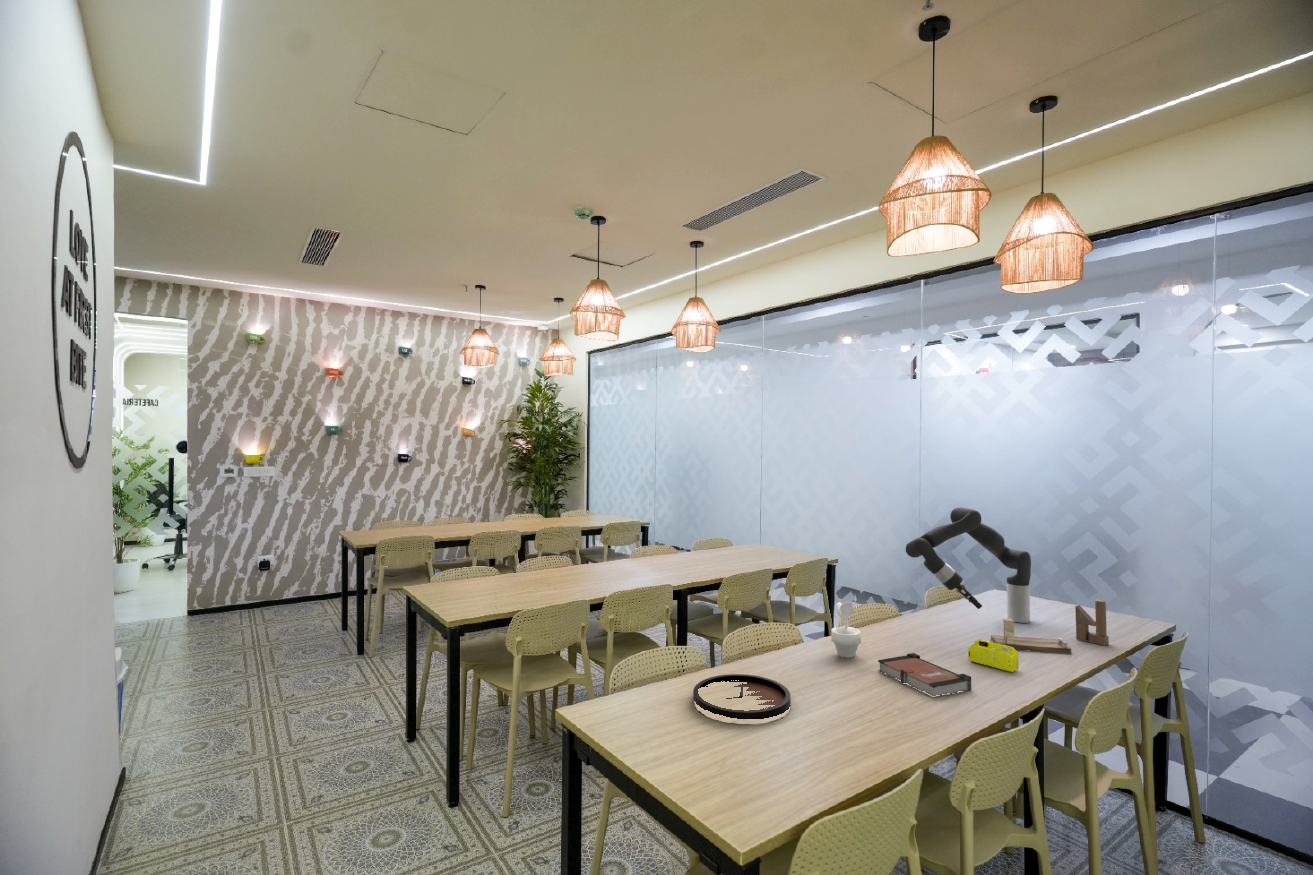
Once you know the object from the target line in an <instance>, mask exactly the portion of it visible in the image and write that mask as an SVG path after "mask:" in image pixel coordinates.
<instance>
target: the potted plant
mask: <svg viewBox="0 0 1313 875" xmlns="http://www.w3.org/2000/svg"><path fill="white" fill-rule="evenodd" d="M854 594H855V593H854ZM853 599H854V601H855V604H856V602H857V600H858V599H857V596H856V594H855V595H854V597H853ZM859 606H860V608H862V604H860V605H859ZM835 608H836V611H837V615H838V616H839V617H840V618H843V619H844V621H843V622H844V625H843V626H836V627H832V628H831V629H830V630H831V634H830V635H831V642H833V644H834V646H835V650H836V652H837V655H838V656H839V657H841V658H844V657H845V658H846V659H851V658H853V657H855V656H856V654H857V651H858V647H859V645H860V644H862V633H861V632H862V630H859V629H857V628H855V627H851V626H849V617H851V616H852V615H853V612H854V608H853V601H844V602H843V603H842V602H840V601H839V602H837V603H835ZM857 608H858V607H857V604H856V606H855V610H857ZM845 658H844V659H845Z"/></svg>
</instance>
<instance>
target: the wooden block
mask: <svg viewBox="0 0 1313 875" xmlns="http://www.w3.org/2000/svg"><path fill="white" fill-rule="evenodd" d="M1094 603H1095V604H1094V605H1095V606H1094V607H1095V611H1094V612H1095V619H1094V618H1092V617H1091V616H1090V614H1089V613H1087V611H1086V610H1085V609H1084V608H1083V607H1082V606H1081V605H1080V604H1079V605H1075V606H1074V607H1075V608H1074V609H1075V630H1076V631H1075V639H1076V640H1078V641H1083V642H1086V641H1088V642H1089V643H1091V644H1096V645H1100V646H1107V645H1109V642H1110V641H1109V640H1110V639H1109V635H1108V634H1107V602H1106V601H1105V600H1103V599H1095V601H1094ZM1089 626H1091V627H1095V632H1093V631H1089V629H1090V628H1089Z"/></svg>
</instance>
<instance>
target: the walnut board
mask: <svg viewBox="0 0 1313 875" xmlns="http://www.w3.org/2000/svg"><path fill="white" fill-rule="evenodd" d="M990 642H993V643H997V644H1002V645H1006V646H1010V647H1013V648H1014V649H1015V650H1016V651H1024V650H1030V652H1038V651H1039V652H1041V653H1052V654H1053V653H1055V654H1067V655H1068V654H1069V655H1072V648H1071V647H1070V646H1068V642H1067V641H1066V640H1065V639H1063V637H1062V638H1061V637H1058V638H1056V639H1055V638H1043V637H1042V638H1041V637H1040V638H1039V637H1026V636H1024V637H1023V636H1014V644H1008V643H1006V642H1005V641H1004V635H995V634H990ZM1008 648H1009V647H1008Z"/></svg>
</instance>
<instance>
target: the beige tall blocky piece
mask: <svg viewBox="0 0 1313 875" xmlns="http://www.w3.org/2000/svg"><path fill="white" fill-rule="evenodd" d="M1002 621H1003V622H1002V623H1003V624H1002V625H1003V636H1004V641H1005V642H1006V643H1008V644H1014V637H1015V622H1014V621H1013V620H1012V619H1008V618H1002Z"/></svg>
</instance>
